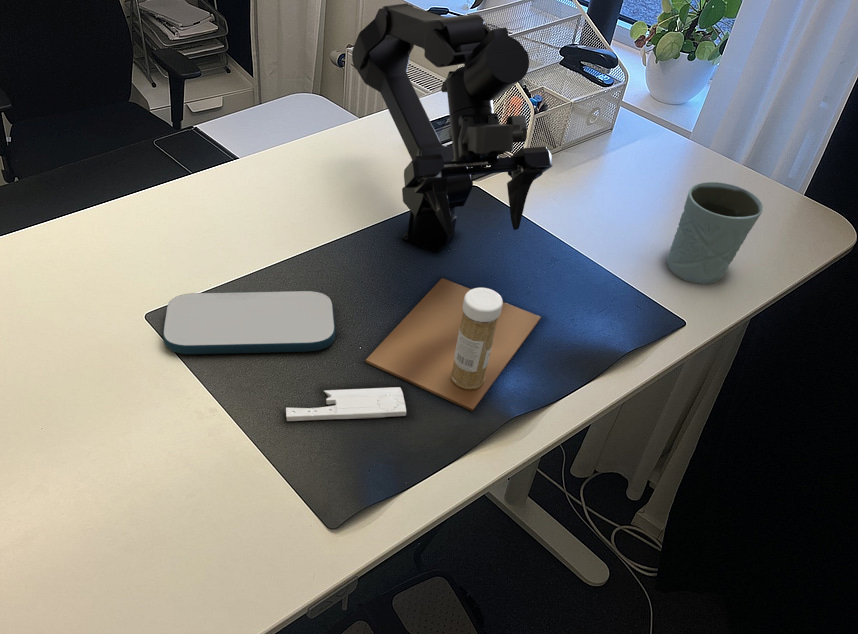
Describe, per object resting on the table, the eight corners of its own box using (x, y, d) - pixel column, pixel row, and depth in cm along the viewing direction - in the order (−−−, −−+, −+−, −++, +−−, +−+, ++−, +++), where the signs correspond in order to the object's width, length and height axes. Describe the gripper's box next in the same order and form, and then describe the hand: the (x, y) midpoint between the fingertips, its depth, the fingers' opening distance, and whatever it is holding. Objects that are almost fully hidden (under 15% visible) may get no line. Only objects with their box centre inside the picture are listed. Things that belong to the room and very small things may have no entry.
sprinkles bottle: (491, 382, 99) (511, 301, 89) (464, 395, 97) (482, 314, 87) (468, 362, 101) (485, 281, 92) (442, 374, 100) (456, 293, 90)
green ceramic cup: (650, 267, 118) (677, 199, 109) (679, 240, 123) (707, 173, 114) (713, 295, 113) (746, 226, 104) (740, 266, 118) (774, 198, 109)
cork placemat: (365, 362, 102) (365, 359, 101) (441, 280, 114) (442, 277, 114) (472, 411, 96) (473, 409, 95) (540, 319, 108) (541, 316, 108)
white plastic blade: (285, 392, 97) (285, 386, 97) (400, 388, 98) (401, 382, 98) (286, 421, 94) (286, 415, 93) (406, 417, 95) (406, 411, 94)
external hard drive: (161, 358, 102) (159, 347, 100) (169, 303, 110) (167, 292, 108) (336, 354, 103) (337, 343, 101) (331, 300, 111) (332, 289, 109)
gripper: (418, 95, 91) (431, 225, 91) (565, 86, 93) (577, 212, 94) (397, 126, 102) (409, 242, 102) (529, 118, 104) (540, 231, 105)
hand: (483, 232), depth 101 cm, fingers open, 9 cm apart
